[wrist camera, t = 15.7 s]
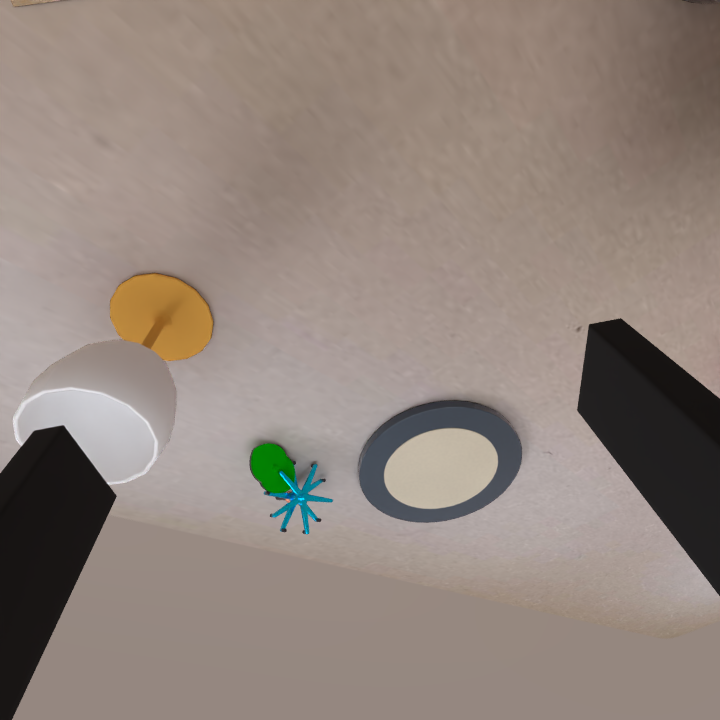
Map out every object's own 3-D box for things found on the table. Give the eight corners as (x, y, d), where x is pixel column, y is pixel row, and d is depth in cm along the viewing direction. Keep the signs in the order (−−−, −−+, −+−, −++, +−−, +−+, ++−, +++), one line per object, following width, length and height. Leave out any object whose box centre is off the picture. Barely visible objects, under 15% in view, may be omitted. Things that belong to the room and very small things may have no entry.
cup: (145, 370, 43) (70, 503, 30) (88, 290, 38) (-33, 407, 25) (230, 344, 43) (191, 468, 29) (183, 259, 38) (110, 362, 24)
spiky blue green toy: (347, 495, 53) (307, 550, 48) (317, 495, 58) (279, 545, 53) (282, 421, 50) (234, 473, 45) (257, 428, 55) (212, 475, 51)
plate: (521, 385, 49) (525, 392, 47) (516, 500, 60) (519, 508, 59) (344, 418, 49) (344, 426, 48) (372, 526, 60) (373, 534, 59)
